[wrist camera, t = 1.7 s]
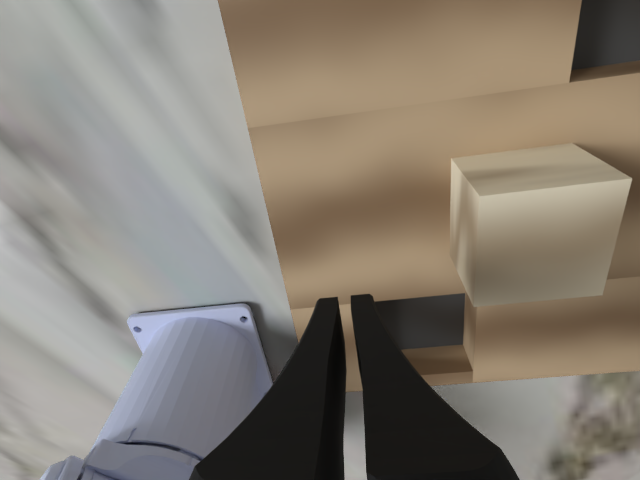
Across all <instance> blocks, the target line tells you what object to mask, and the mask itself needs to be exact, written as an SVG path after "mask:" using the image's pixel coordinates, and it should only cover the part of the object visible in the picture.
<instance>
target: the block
mask: <svg viewBox="0 0 640 480" xmlns="http://www.w3.org/2000/svg"><path fill="white" fill-rule="evenodd" d="M631 182H632V178H631V177H629V176H627V175H626V174H624V173H622V172H621V171H619V170H617V169H615V168H614V167H612V166H610V165H609V164H607V163H605V162H604V161H602V160H600V159H598V158H597V157H595V156H593V155H592V154H590V153H588V152H586V151H585V150H583V149H581V148H580V147H578V146H576V145H575V144H573V143H568V144H561V145H553V146H545V147H537V148H529V149H521V150H513V151H506V152H498V153H490V154H482V155H474V156H466V157H458V158H451V200H450V257H451V259H452V261H453V263H454V266H455V268H456V270H457V272H458V274H459V276H460V279H461V281H462V283H463V285H464V287H465V289H466V292H467V294H468V296H469V298H470V300H471V303H472V305H473V307H479V306H490V305H501V304H512V303H523V302H534V301H545V300H556V299H567V298H578V297H589V296H600V295H603V291H604V287H605V283H606V279H607V275H608V271H609V268H610V264H611V260H612V256H613V252H614V248H615V244H616V240H617V236H618V232H619V228H620V225H621V221H622V217H623V213H624V209H625V205H626V201H627V197H628V193H629V189H630V186H631Z"/></svg>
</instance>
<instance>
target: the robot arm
mask: <svg viewBox="0 0 640 480" xmlns="http://www.w3.org/2000/svg"><path fill="white" fill-rule="evenodd" d="M351 315H352V322H353V329H354V336H355V343H356V351H357V358H358V365H359V372H360V377H361V383H362V389H363V404H364V424H365V448H366V473H367V480H519V478H518V476H517V474H516V472H515V471H514V469H513V467H512V466H511V464H510V462H509V461H508V459H507V458H506V456H505V455H504V453H503V452H502V450H501V449H500V448H499V447H498V446H496V445H495V444H494V443H493V442H491V441H490V440H489V439H487V438H486V437H485V436H483V435H482V434H481V433H480V432H479V431H477V430H476V429H475V428H474V427H472V426H471V425H470V424H469V423H468V422H467V421H466V420H464V419H463V418H462V417H461V416H460V415H459V414H458V413H456V412H455V411H454V410H453V409H452V408H451V407H450V406H449V405H448V404H447V403H446V402H445V401H444V400H443V399H442V398H441V397H440V396H439V395H438V394H437V393H436V392H435V391H434V390H433V389H432V388H431V387H430V385H429V384H428V383H427V382H426V381H425V380H424V379H423V378H422V376H421V375H420V374H419V373H418V372H417V371H416V369H415V368H414V367H413V366H412V364H411V363H410V362H409V360H408V359H407V358H406V356H405V355H404V354H403V352H402V351H401V349H400V348H399V346H398V345H397V343H396V342H395V340H394V339H393V337H392V336H391V334H390V332H389V331H388V329H387V327H386V326H385V324H384V322H383V320H382V318H381V316H380V314H379V312H378V310H377V307H376V305H375V302H374V299H373V296H372V295H371V294H360V295H351ZM242 316H245V317H247V318H243V317H242ZM127 323H128V326H129V328H130V329H131V331H132V333H133V335H134V337H135V339H136V341H137V343H138V345H139V347H140V349H141V351H142V353H143V355H142V357H141V359H140V361H139V362H138V364H137V366H136V368H135V370H134V372H133V373H132V375H131V377H130V379H129V381H128V383H127V384H126V386H125V388H124V390H123V392H122V394H121V395H120V397H119V399H118V401H117V403H116V405H115V406H114V408H113V410H112V412H111V414H110V416H109V417H108V419H107V421H106V423H105V425H104V427H103V428H102V430H101V432H100V434H99V436H98V438H97V439H96V441H95V443H94V445H93V447H92V449H91V450H90V452H89V454H88V455H87V456H86V458H85V459H84V460H83V459H80V458H78V457H76V456H69V457H67V458H66V459H65V460H64V461H60V462H58V463H55V464H53V465H51V466H50V467H49V468H48V469H47V470H46V471H45V473H44V474H43V475H42V477H41V478H40V480H344V455H343V433H344V414H345V395H346V374H347V369H346V352H345V340H344V333H343V327H342V321H341V314H340V308H339V301H338V297H329V298H319V299H318V301H317V302H316V305H315V308H314V311H313V313H312V316H311V318H310V320H309V323H308V325H307V327H306V329H305V331H304V333H303V335H302V337H301V339H300V341H299V343H298V345H297V347H296V349H295V350H294V352H293V354H292V356H291V357H290V359H289V361H288V362H287V364H286V366H285V367H284V369H283V370H282V372H281V373H280V375H279V376H278V378H277V379H276V381H275V382H274V383H273V381H272V378H271V375H270V371H269V368H268V365H267V361H266V358H265V355H264V351H263V348H262V345H261V341H260V338H259V334H258V331H257V328H256V324H255V321H254V318H253V314H252V311H251V308H250V307H249V306H248V305H247V304H242V303H241V304H230V305H220V306H210V307H199V308H189V309H179V310H169V311H158V312H148V313H138V314H132V315H130V316H129V318H128V320H127ZM137 326H138V327H140V328H138V327H137Z"/></svg>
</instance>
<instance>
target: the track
mask: <svg viewBox="0 0 640 480" xmlns="http://www.w3.org/2000/svg"><path fill="white" fill-rule="evenodd" d="M218 3H219V7H220V12H221V16H222V20H223V24H224V29H225V33H226V37H227V41H228V46H229V50H230V54H231V58H232V63H233V67H234V71H235V75H236V80H237V84H238V88H239V92H240V97H241V101H242V105H243V109H244V114H245V118H246V122H247V126H248V131H249V135H250V139H251V143H252V148H253V152H254V156H255V160H256V165H257V169H258V173H259V177H260V182H261V186H262V190H263V195H264V199H265V203H266V207H267V212H268V216H269V220H270V224H271V229H272V233H273V237H274V241H275V246H276V250H277V254H278V258H279V263H280V267H281V271H282V275H283V280H284V284H285V288H286V292H287V297H288V301H289V305H290V309H291V314H292V318H293V322H294V326H295V331H296V335H297V339H298V343H299V341H300V339H301V337H302V335H303V333H304V331H305V329H306V327H307V325H308V323H309V320H310V318H311V316H312V313H313V311H314V308H315V305H316V302H317V301H318V299H319V298H329V297H338V301H339V308H340V314H341V321H342V327H343V333H344V340H345V352H346V369H347V374H346V392H354V391H363V389H362V383H361V377H360V372H359V365H358V358H357V351H356V343H355V336H354V329H353V322H352V315H351V295H360V294H371V295H372V296H373V299H374V302H375V305H376V307H377V310H378V312H379V314H380V316H381V318H382V320H383V322H384V324H385V326H386V327H387V329H388V331H389V332H390V334H391V336H392V337H393V339H394V340H395V342H396V343H397V345H398V346H399V348H400V349H401V351H402V352H403V354H404V355H405V356H406V358H407V359H408V360H409V362H410V363H411V364H412V366H413V367H414V368H415V369H416V371H417V372H418V373H419V374H420V375H421V376H422V378H423V379H424V380H425V381H426V382H427V383H428V384H429V385H430V386H436V385H449V384H463V383H477V382H491V381H504V380H518V379H532V378H545V377H559V376H573V375H587V374H600V373H614V372H628V371H640V0H218ZM568 143H573V144H575V145H576V146H578V147H580V148H581V149H583V150H585V151H586V152H588V153H590V154H592V155H593V156H595V157H597V158H598V159H600V160H602V161H604V162H605V163H607V164H609V165H610V166H612V167H614V168H615V169H617V170H619V171H621V172H622V173H624V174H626V175H627V176H629V177H631V178H632V182H631V186H630V189H629V193H628V197H627V201H626V205H625V209H624V213H623V217H622V221H621V225H620V228H619V232H618V236H617V240H616V244H615V248H614V252H613V256H612V260H611V264H610V268H609V271H608V275H607V279H606V283H605V287H604V291H603V295H600V296H589V297H578V298H567V299H556V300H545V301H534V302H523V303H512V304H501V305H490V306H479V307H473V305H472V303H471V300H470V298H469V296H468V294H467V292H466V289H465V287H464V285H463V283H462V281H461V279H460V276H459V274H458V272H457V270H456V268H455V266H454V263H453V261H452V259H451V257H450V200H451V158H458V157H466V156H474V155H482V154H490V153H498V152H506V151H513V150H521V149H529V148H537V147H545V146H553V145H561V144H568Z"/></svg>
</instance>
